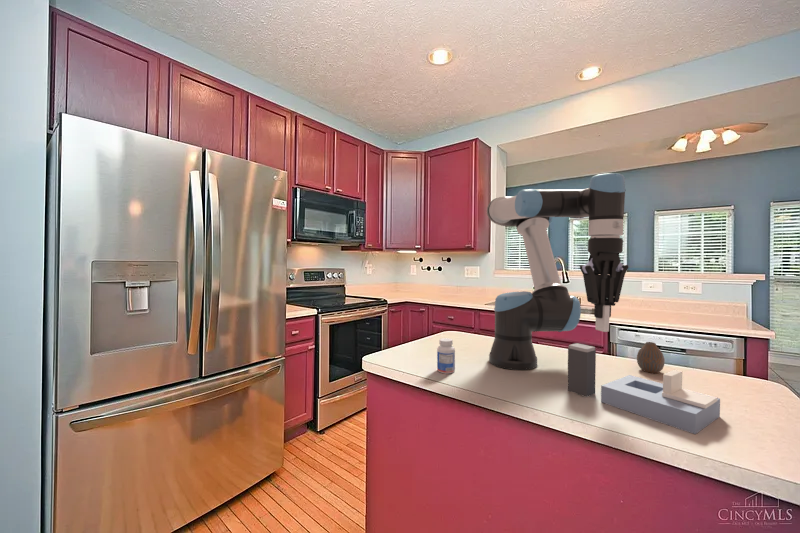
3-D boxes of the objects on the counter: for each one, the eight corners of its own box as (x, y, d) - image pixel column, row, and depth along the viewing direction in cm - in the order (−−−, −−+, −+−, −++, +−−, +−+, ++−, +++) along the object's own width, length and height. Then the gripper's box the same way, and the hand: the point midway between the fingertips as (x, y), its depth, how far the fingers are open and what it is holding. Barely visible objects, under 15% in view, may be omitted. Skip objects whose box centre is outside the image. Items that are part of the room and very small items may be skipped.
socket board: (601, 401, 83) (601, 385, 82) (629, 389, 90) (629, 374, 90) (695, 434, 67) (695, 414, 67) (719, 416, 75) (720, 398, 75)
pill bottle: (441, 367, 109) (441, 336, 109) (457, 369, 106) (457, 338, 106) (434, 372, 104) (434, 340, 104) (451, 375, 102) (451, 342, 101)
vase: (639, 373, 103) (640, 344, 103) (634, 366, 110) (634, 339, 110) (667, 376, 101) (668, 346, 101) (660, 369, 107) (660, 341, 107)
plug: (567, 390, 90) (568, 345, 89) (576, 387, 92) (576, 343, 92) (586, 397, 86) (587, 349, 85) (595, 393, 88) (595, 347, 87)
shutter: (661, 396, 76) (662, 374, 76) (674, 389, 80) (675, 369, 79) (705, 408, 69) (705, 385, 69) (717, 401, 73) (717, 378, 73)
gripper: (596, 236, 80) (592, 335, 82) (639, 237, 84) (635, 332, 85) (572, 237, 88) (569, 328, 89) (613, 237, 91) (610, 325, 92)
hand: (602, 330), depth 87 cm, fingers closed
